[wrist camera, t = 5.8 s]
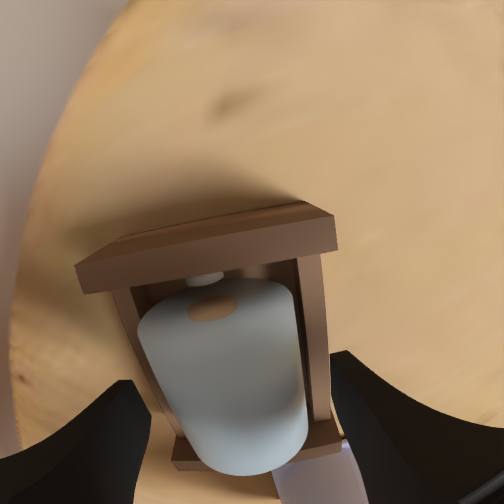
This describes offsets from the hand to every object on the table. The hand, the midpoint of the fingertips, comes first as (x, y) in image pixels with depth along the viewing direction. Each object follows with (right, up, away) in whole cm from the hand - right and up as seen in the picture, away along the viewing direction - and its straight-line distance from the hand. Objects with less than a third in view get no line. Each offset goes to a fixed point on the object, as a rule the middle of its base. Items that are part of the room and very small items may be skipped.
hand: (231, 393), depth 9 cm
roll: (0, +1, +3) cm, 3 cm away
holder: (0, +1, +4) cm, 4 cm away
